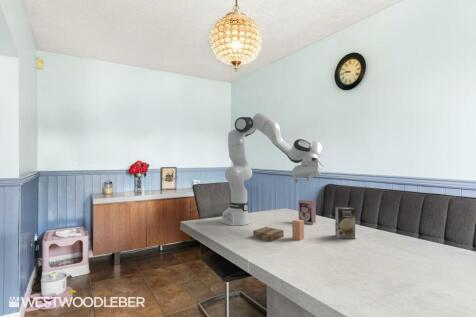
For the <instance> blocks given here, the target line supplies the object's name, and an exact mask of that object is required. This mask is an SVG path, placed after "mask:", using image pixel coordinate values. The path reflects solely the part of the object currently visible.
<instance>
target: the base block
mask: <svg viewBox="0 0 476 317" xmlns="http://www.w3.org/2000/svg"><path fill="white" fill-rule="evenodd" d="M252 233H253V234H252V235H253V239H254V238H255V239H259V240H262V241H267V242H274V241H277V240H279V239H282V238H284V237H285V236H284V234H285V232H284V229H279V228H274V227H271V226H269V227H268V226H264V227H262V228H258V229H255V230H253V231H252Z"/></svg>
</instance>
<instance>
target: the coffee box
mask: <svg viewBox="0 0 476 317" xmlns="http://www.w3.org/2000/svg"><path fill="white" fill-rule="evenodd" d="M334 217H335V222H334V223H335V224H334V225H335V233H334V234H335V236H336V237H337V239H356V209H355V208H354V207H353V206H352V207H351V206H350V207H348V206H335V216H334Z"/></svg>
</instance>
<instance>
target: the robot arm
mask: <svg viewBox="0 0 476 317" xmlns="http://www.w3.org/2000/svg"><path fill="white" fill-rule="evenodd" d="M256 130H257V131H259V132H261V134H263V135H264V136H265V137H267V138H268V139H269V140H270V141H271V143H272V144H273V145H274V146H276V147H277V148H278V149H279V150H280V151H281V152H282V153H283V154H285V155H286V156H287V158H288V160H290V161H291V162H292V163H294V164H297V165H295V166H294V167H293V169H292V171H291V172H290V175H291V177H292V178H293V179H294V180H293V182H294V183H295V184H296V183H298V182H299V180H298V179H299V178H306V181H307V182H311V181H312V179H313V178H314V177H315V176H320V175H321V174H322V171H323V167H324V163H323V162H322V160H320V157H321V154H322V150H323V146H322V144H321V143H320V142H319V141H318V140H317V141H316V140H310V141H308V140H305V139H303V138H299V139H296V140H294V142H293V145H292V146H290V144H288V142H286V141H285V140H284V139H283V137H282V134H281V126H280V125H279V123H278V122H277V121H275V120H274V119H273V118H271V117H269V116H267V115H265V114H264V113H261V112H260V113H259V112H258V113H255V115H253V117H251V116H239V117H238V118H237V119H236V120H235V122H234V129H232V130H230V131H229V132H228V134H227V146H228V156H229V159H230V160H231V162H232V166H230V167H228V168H227V169H226V170H225V172H224V177H225V180H226V181H227V182H228V185H229V187H230V198H231V199H230V202H229V203H228V205H229V206H228V207H227V209H225V210H224V211H223V212H222V216H221V218H219V220H218V222H219V223H222V224H224V225H228V226H245V225H249V224H250V223H251V221H250V217H249V210H248V209H249V202H248V190H247V188H246V186H245V182H246V181H248V180H250V179H251V178H252V177H253V170H252V168H251V167H250V166H249V162H248V160H247V156H246V149H245V138H246V137H249V136H250V135H252V134H254V133H255V132H256ZM299 163H300V164H299Z"/></svg>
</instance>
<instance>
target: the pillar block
mask: <svg viewBox="0 0 476 317" xmlns="http://www.w3.org/2000/svg"><path fill="white" fill-rule="evenodd" d="M291 222H292V223H291V224H292V226H291V228H292V240H296V241H301V240H303V239H305V223H304V220H300V219H299V218H296V219H293V220H292V221H291Z"/></svg>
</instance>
